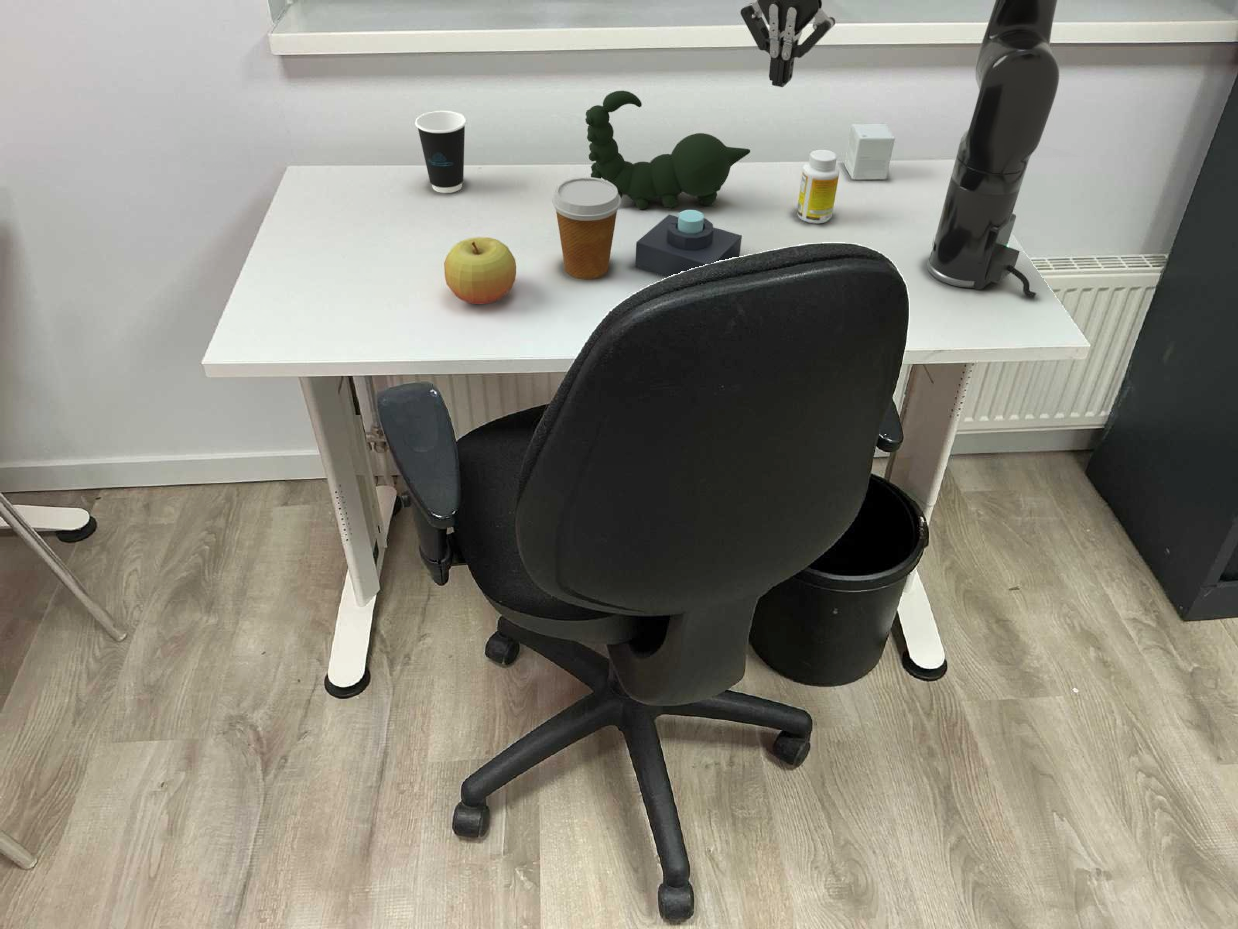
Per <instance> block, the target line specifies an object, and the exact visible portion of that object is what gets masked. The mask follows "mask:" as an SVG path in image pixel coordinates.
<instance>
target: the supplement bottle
mask: <svg viewBox="0 0 1238 929" xmlns="http://www.w3.org/2000/svg"><path fill="white" fill-rule="evenodd" d="M808 160H809V161H808V162H807V163H805V164H804V165H803V167H802V171H801V172H802V173H801V178H800V187H799V193H798V199H797V207H796V214H797V217H798V218H799V219H800V220H802V221H804V222H806V223H809V224H823V223H824V224H825V223H827V222H829V221H830V220H831V219H832V217H833V212H834V208H835V201H836V195H837V194H836V193H837V189H838V183H839V179H840V178H839V177H840V168H839V166H837V160H838V155H837V154H836V153H835V152H834V151H832V150H829V149H815V150H813V151H811V152H810V155H809V159H808Z"/></svg>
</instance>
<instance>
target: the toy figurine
mask: <svg viewBox="0 0 1238 929" xmlns="http://www.w3.org/2000/svg"><path fill="white" fill-rule="evenodd" d="M642 103H643V102H642V101H641V99H640V98H639V97H638V96H637V95H635V94H634V93H632V92H631V91H628V90H615V91H613V92H610V93H608V94H607V95H606V96H605V97H604V99H603V101H602V105H600V104H597V105H596V104H595V105H593V106H592V107H590V108H589V109H587V110H586V112H585V123H586V125H587V130H586V131H587V135H586V139H587V141H588V142H590V144H589V145H588V148H589V151H590V153H589V154H588V159H589V161H591V162H593V163H592V164H591V166H590V169H591V173H590V177H593V178H599V179H603V180H606V181H609V182H610V183H612V184H613V185H615V186H616V188H617V190H618V194H619V195H620V198H621V200H622V199H623V196H628V197H629V198H630V199H632V200H634V201H635V206H636V208H638V209H640V210H646V209H647V207H648V206H649V201H652V200H654V199H656V198H658V199H661V204H662V205H663V206H664V207H665V208H668V209H669V208H670V209H672V208H673V207H675V206H677V204H678V198H679V196H680V195H681V194H682V193H684V194H686V195H689V196H693V197H697V200H698V202H699V203H701V204H702V205H703V206H711V205H713V204H714V203H715V202H716V201H717V198H718V192H719V191H721V189H722V187H723V185H724V184H725V182H726V181H727V179H728V178H729V174H730V171H731V167H732V166H734V164H736V163H738V162H739V161H740V160H742V159H744V158H745V157H746V156H748V155H749V154H750V153H751V149H749V148H746V147H745V148H743V147H733V146H727V145H725V144H724V143H723V142H722V141H721V140H720V139H719V138H717V136H714V135H712V134H709V133H705V132H697V133H692V134H690V135H687V136H685V137H683V138H682V139H680V141H678V143H677V144H676V145H675V146H674V148H673V150H672V151H671V153H662V154H659V155H657V156H655V157H654V158H652V160H650V162H649V161H644V160H643V161H637V162H633V163H632V162H631V161H628V160H625V159H624V156H623V155H622V154H621V153H620V152H619V145H618V143H617V141H616V140H615V138H614V133H615V131H614V128H613V125H612V124H611V123H610V113H613V112H615V111H617V110H619V109H621V107H623V106H626V105H634V106H636V107H638V108H641V107H642V106H643V104H642Z"/></svg>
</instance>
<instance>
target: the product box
mask: <svg viewBox="0 0 1238 929" xmlns="http://www.w3.org/2000/svg"><path fill="white" fill-rule="evenodd" d="M849 131H850V132H849V137H848V142H847V143H848V144H847V148H846V154H845V161H844V167H845V168H846V170H847V172H848V174H849V176H850V178H851V179H852V180H859V181H860V180H861V181H862V180H887V179H888V174H889V168H890V164H891V158H892V154H893V149H894V145H895V140H896V137H895V136H894V134H893V133H892V131H891V130H890V128H889V126H888V125H887V123H852V124H851V125H850V130H849Z"/></svg>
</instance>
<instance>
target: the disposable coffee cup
mask: <svg viewBox="0 0 1238 929" xmlns="http://www.w3.org/2000/svg"><path fill="white" fill-rule="evenodd" d="M551 203H552V205H553V208H554V210H555V214H556V219H557V225H558V233H559V240H560V245H561V252H562V258H563V264H564V271H565V272H566V273H567V274H568V275H569V276H571V277H573V278H576V279H581V280H592V279H597V278H600V277H603V276H604V275H606V274H607V273H608V271H609V266H610V258H611V252H612V246H613V241H614V233H615V226H616V220H617V215H618V210H619V208H620V206H621V204H622V199H621V198H620V195H619V194H618V190H617V188H616V186H615V185H613V184H612V183H610V182H609V181H607V180H604V179H603V178H601V179H599V178H593V177H591V176H580V177H579V176H578V177H574V178H570V179H566V180H563V181H562V182H560V183H559V184H558V185H556V188H555V190H554V193H553V195H552V197H551Z"/></svg>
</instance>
